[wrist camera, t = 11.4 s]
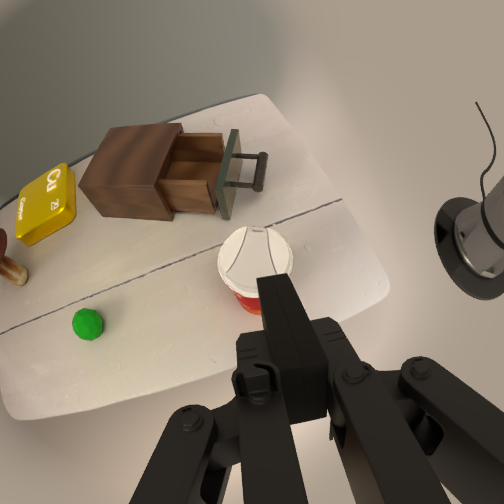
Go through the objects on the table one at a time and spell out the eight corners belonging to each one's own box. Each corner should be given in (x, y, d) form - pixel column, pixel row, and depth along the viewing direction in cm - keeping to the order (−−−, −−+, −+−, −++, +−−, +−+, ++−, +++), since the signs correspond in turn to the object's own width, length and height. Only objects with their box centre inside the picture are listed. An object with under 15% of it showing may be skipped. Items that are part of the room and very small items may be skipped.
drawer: (270, 163, 50) (269, 130, 43) (261, 223, 45) (259, 192, 38) (172, 159, 52) (161, 129, 45) (152, 214, 47) (135, 186, 40)
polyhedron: (113, 328, 40) (97, 321, 35) (94, 349, 38) (77, 344, 34) (97, 306, 41) (81, 297, 37) (79, 326, 40) (62, 319, 36)
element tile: (28, 199, 53) (18, 188, 49) (75, 171, 55) (65, 157, 51) (25, 249, 47) (12, 239, 43) (77, 220, 49) (64, 207, 45)
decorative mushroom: (24, 314, 41) (-31, 286, 28) (3, 287, 44) (-45, 258, 30) (49, 266, 45) (-1, 228, 31) (26, 245, 48) (-18, 209, 34)
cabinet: (192, 160, 53) (181, 122, 44) (172, 221, 47) (153, 186, 38) (127, 161, 55) (110, 127, 46) (102, 216, 49) (77, 185, 40)
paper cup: (235, 268, 43) (221, 218, 30) (287, 272, 42) (295, 223, 30) (228, 320, 40) (209, 290, 27) (284, 325, 39) (291, 296, 26)
